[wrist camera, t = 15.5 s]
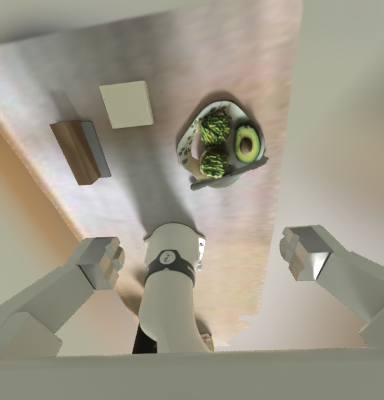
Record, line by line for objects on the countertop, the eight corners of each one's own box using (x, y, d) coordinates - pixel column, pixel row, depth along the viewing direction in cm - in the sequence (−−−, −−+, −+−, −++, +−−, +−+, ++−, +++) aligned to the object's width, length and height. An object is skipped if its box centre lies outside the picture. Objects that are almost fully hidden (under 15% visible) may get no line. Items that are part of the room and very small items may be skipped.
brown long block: (79, 120, 33) (64, 123, 29) (101, 176, 39) (91, 184, 36) (65, 121, 33) (49, 124, 29) (89, 176, 39) (78, 185, 36)
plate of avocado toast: (214, 204, 45) (216, 214, 41) (159, 161, 39) (156, 169, 35) (275, 149, 37) (285, 155, 33) (220, 85, 31) (224, 83, 27)
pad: (111, 176, 40) (110, 177, 40) (83, 177, 40) (81, 179, 40) (91, 121, 34) (90, 121, 33) (58, 124, 34) (56, 124, 33)
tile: (116, 127, 35) (154, 123, 34) (112, 128, 33) (152, 124, 32) (103, 86, 31) (146, 81, 31) (98, 86, 29) (143, 80, 29)
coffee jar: (165, 322, 80) (159, 375, 65) (143, 323, 81) (132, 376, 65) (161, 311, 75) (153, 367, 59) (137, 312, 75) (124, 368, 60)
